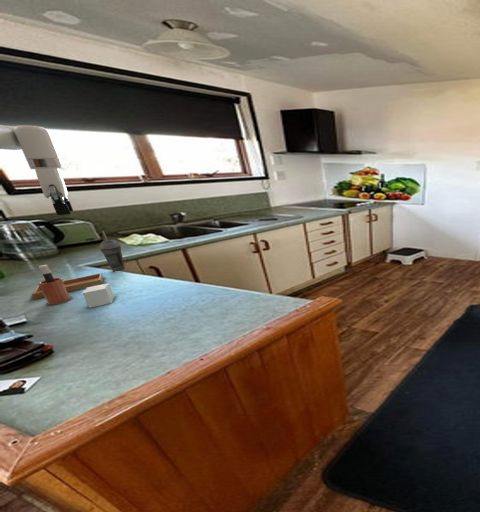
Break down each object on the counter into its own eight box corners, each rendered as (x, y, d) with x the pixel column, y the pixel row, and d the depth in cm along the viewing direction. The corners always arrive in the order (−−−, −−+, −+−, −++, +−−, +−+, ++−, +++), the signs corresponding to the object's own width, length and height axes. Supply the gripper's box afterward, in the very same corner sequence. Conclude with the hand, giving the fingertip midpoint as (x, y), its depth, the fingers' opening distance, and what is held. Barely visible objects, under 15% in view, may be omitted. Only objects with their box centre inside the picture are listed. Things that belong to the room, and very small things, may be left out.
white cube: (114, 297, 106) (109, 283, 104) (111, 302, 101) (105, 288, 99) (93, 301, 103) (87, 287, 101) (88, 308, 98) (82, 293, 96)
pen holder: (47, 306, 100) (36, 285, 97) (49, 301, 104) (39, 280, 101) (69, 300, 104) (60, 280, 101) (71, 296, 108) (62, 276, 105)
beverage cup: (114, 273, 130) (98, 233, 123) (105, 271, 132) (89, 232, 125) (132, 268, 136) (118, 229, 129) (123, 266, 138) (109, 228, 132)
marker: (54, 301, 102) (38, 267, 98) (55, 299, 104) (39, 265, 99) (62, 299, 103) (46, 265, 99) (63, 297, 105) (47, 264, 100)
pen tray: (34, 299, 106) (31, 294, 105) (39, 291, 113) (36, 286, 112) (102, 284, 118) (100, 279, 117) (103, 277, 125) (101, 273, 124)
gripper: (34, 165, 98) (54, 212, 104) (23, 164, 86) (46, 217, 92) (64, 164, 103) (82, 209, 109) (58, 164, 91) (78, 214, 97)
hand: (65, 213), depth 100 cm, fingers open, 9 cm apart
